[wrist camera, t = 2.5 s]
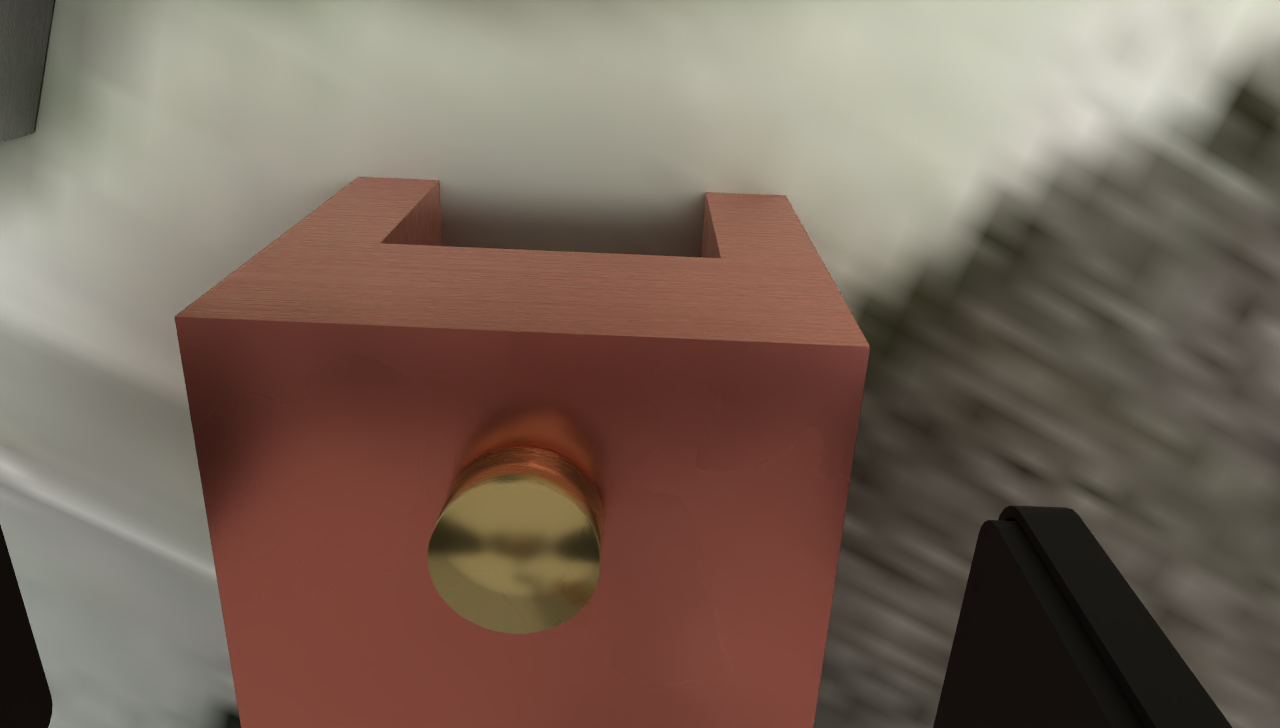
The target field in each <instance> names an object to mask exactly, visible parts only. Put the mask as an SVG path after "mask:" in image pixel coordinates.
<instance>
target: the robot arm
mask: <svg viewBox="0 0 1280 728" xmlns="http://www.w3.org/2000/svg"><path fill="white" fill-rule="evenodd" d="M51 715H52V698H51V694H50V690H49V687H48V683H47V680H46V677H45V673H44V670H43V667H42V663H41V660H40V657H39V653H38V650H37V646H36V643H35V640H34V636H33V633H32V630H31V626H30V623H29V619H28V616H27V613H26V609H25V606H24V603H23V599H22V596H21V593H20V589H19V586H18V582H17V579H16V576H15V572H14V569H13V566H12V562H11V559H10V556H9V552H8V549H7V545H6V542H5V539H4V535H3V532H2V529H1V525H0V728H48V726H49V723H50V719H51ZM933 728H1232V727H1231V725H1230V724H1229V722H1228V721H1227V720H1226V718H1225V717H1224V715H1223V714H1222V713H1221V711H1220V710H1219V709H1218V707H1217V706H1216V704H1215V703H1214V702H1213V700H1212V699H1211V697H1210V696H1209V695H1208V693H1207V692H1206V691H1205V689H1204V688H1203V686H1202V685H1201V684H1200V682H1199V681H1198V680H1197V678H1196V677H1195V675H1194V674H1193V673H1192V671H1191V670H1190V669H1189V667H1188V666H1187V665H1186V663H1185V662H1184V660H1183V659H1182V658H1181V656H1180V655H1179V653H1178V652H1177V651H1176V649H1175V648H1174V647H1173V645H1172V644H1171V642H1170V641H1169V640H1168V638H1167V637H1166V636H1165V634H1164V633H1163V631H1162V630H1161V629H1160V627H1159V626H1158V624H1157V623H1156V622H1155V620H1154V619H1153V618H1152V616H1151V615H1150V613H1149V612H1148V611H1147V609H1146V608H1145V606H1144V605H1143V604H1142V602H1141V601H1140V600H1139V598H1138V597H1137V595H1136V594H1135V593H1134V591H1133V590H1132V589H1131V587H1130V586H1129V584H1128V583H1127V582H1126V580H1125V579H1124V577H1123V576H1122V575H1121V573H1120V572H1119V571H1118V569H1117V568H1116V566H1115V565H1114V564H1113V562H1112V561H1111V560H1110V558H1109V557H1108V555H1107V554H1106V553H1105V551H1104V550H1103V548H1102V547H1101V546H1100V544H1099V543H1098V542H1097V540H1096V539H1095V537H1094V536H1093V535H1092V533H1091V532H1090V530H1089V529H1088V528H1087V526H1086V525H1085V524H1084V522H1083V521H1082V519H1081V518H1080V517H1079V515H1078V514H1077V513H1076V512H1075V511H1073V510H1072V509H1069V508H1061V507H1034V506H1008V507H1006V508H1004V510H1003V511H1002V513H1001V514H1000V516H999V519H998V520H988V521H986V522H984V524H983V525H982V527H981V529H980V532H979V535H978V540H977V544H976V548H975V552H974V557H973V561H972V565H971V569H970V574H969V578H968V582H967V586H966V590H965V595H964V599H963V603H962V607H961V612H960V616H959V620H958V624H957V629H956V633H955V637H954V641H953V646H952V650H951V654H950V658H949V663H948V667H947V671H946V675H945V680H944V684H943V688H942V692H941V697H940V701H939V705H938V709H937V714H936V718H935V722H934V727H933Z"/></svg>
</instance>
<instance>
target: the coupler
mask: <svg viewBox="0 0 1280 728" xmlns="http://www.w3.org/2000/svg"><path fill="white" fill-rule="evenodd" d="M53 5H54V0H0V143H1V142H4V141H7V140H11V139H14V138H18V137H21V136H25V135H28V134H32V133H34V128H35V121H36V115H37V108H38V102H39V95H40V89H41V82H42V76H43V69H44V63H45V56H46V50H47V43H48V37H49V31H50V24H51V18H52V11H53Z"/></svg>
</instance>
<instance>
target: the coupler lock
mask: <svg viewBox="0 0 1280 728" xmlns="http://www.w3.org/2000/svg"><path fill="white" fill-rule="evenodd" d="M175 322H176V328H177V335H178V341H179V347H180V353H181V359H182V365H183V372H184V378H185V384H186V390H187V396H188V402H189V409H190V415H191V421H192V427H193V433H194V439H195V446H196V452H197V458H198V464H199V470H200V476H201V483H202V489H203V495H204V501H205V507H206V513H207V520H208V526H209V532H210V538H211V544H212V550H213V556H214V563H215V569H216V575H217V581H218V587H219V593H220V600H221V606H222V612H223V618H224V624H225V630H226V637H227V643H228V649H229V655H230V661H231V667H232V674H233V680H234V686H235V692H236V698H237V704H238V711H239V717H240V723H241V728H813V726H814V719H815V712H816V705H817V699H818V692H819V685H820V679H821V672H822V665H823V659H824V652H825V645H826V638H827V632H828V625H829V618H830V612H831V605H832V598H833V592H834V585H835V578H836V571H837V565H838V558H839V551H840V545H841V538H842V531H843V525H844V518H845V511H846V504H847V498H848V491H849V484H850V478H851V471H852V464H853V458H854V451H855V444H856V437H857V431H858V424H859V417H860V411H861V404H862V397H863V391H864V384H865V377H866V370H867V364H868V357H869V350H870V346H869V344H868V342H867V340H866V338H865V337H864V335H863V333H862V331H861V330H860V328H859V326H858V324H857V322H856V321H855V319H854V317H853V315H852V313H851V312H850V310H849V308H848V306H847V304H846V303H845V301H844V299H843V297H842V296H841V294H840V292H839V290H838V288H837V287H836V285H835V283H834V281H833V279H832V278H831V276H830V274H829V272H828V271H827V269H826V267H825V265H824V263H823V262H822V260H821V258H820V256H819V254H818V253H817V251H816V249H815V247H814V245H813V244H812V242H811V240H810V238H809V237H808V235H807V233H806V231H805V229H804V228H803V226H802V224H801V222H800V220H799V219H798V217H797V215H796V213H795V212H794V210H793V208H792V206H791V204H790V203H789V201H788V199H787V197H786V196H781V195H758V194H736V193H713V192H706V197H705V211H704V226H703V240H702V254H701V257H681V256H658V255H635V254H612V253H589V252H566V251H543V250H520V249H498V248H475V247H452V246H442V237H441V213H440V189H439V180H419V179H396V178H373V177H358V178H357V179H355V180H354V181H353V182H351V183H350V184H349V185H348V186H346V187H345V188H344V189H342V190H341V191H340V192H338V193H337V194H336V195H334V196H333V197H332V198H330V199H329V200H328V201H326V202H325V203H324V204H322V205H321V206H320V207H319V208H317V209H316V210H315V211H313V212H312V213H311V214H309V215H308V216H307V217H305V218H304V219H303V220H301V221H300V222H299V223H297V224H296V225H295V226H293V227H292V228H291V229H289V230H288V231H287V232H286V233H284V234H283V235H282V236H280V237H279V238H278V239H276V240H275V241H274V242H272V243H271V244H270V245H268V246H267V247H266V248H264V249H263V250H262V251H260V252H259V253H258V254H257V255H255V256H254V257H253V258H251V259H250V260H249V261H247V262H246V263H245V264H243V265H242V266H241V267H239V268H238V269H237V270H235V271H234V272H233V273H231V274H230V275H229V276H227V277H226V278H225V279H224V280H222V281H221V282H220V283H218V284H217V285H216V286H214V287H213V288H212V289H210V290H209V291H208V292H206V293H205V294H204V295H202V296H201V297H200V298H198V299H197V300H196V301H195V302H193V303H192V304H191V305H189V306H188V307H187V308H185V309H184V310H183V311H181V312H180V313H179V314H177V315H176V316H175Z"/></svg>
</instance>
